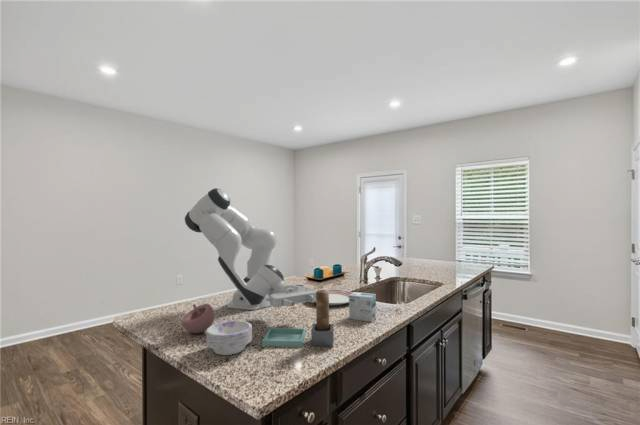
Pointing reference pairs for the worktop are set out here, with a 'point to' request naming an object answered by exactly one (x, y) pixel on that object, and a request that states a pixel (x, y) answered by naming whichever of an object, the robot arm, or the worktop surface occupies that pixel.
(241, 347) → the paper bowls
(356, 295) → the light bulb box
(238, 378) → the worktop surface
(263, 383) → the worktop surface
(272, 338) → the tray
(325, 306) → the dowel pin
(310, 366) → the worktop surface
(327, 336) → the grey square socket base
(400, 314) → the worktop surface
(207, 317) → the mortar and pestle
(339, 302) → the dinner plate
